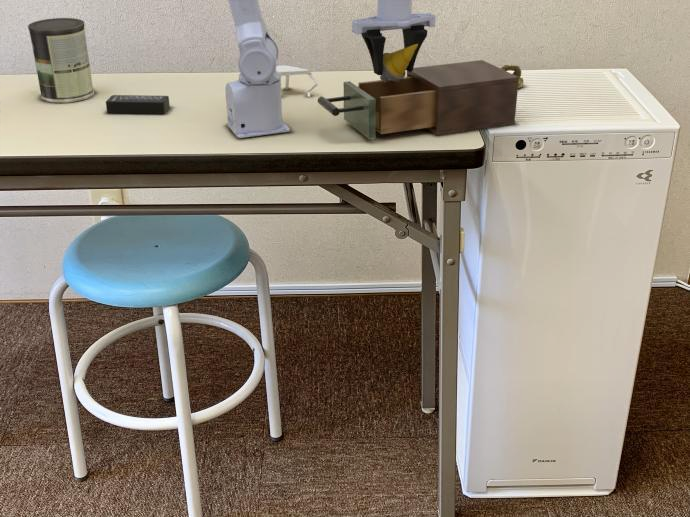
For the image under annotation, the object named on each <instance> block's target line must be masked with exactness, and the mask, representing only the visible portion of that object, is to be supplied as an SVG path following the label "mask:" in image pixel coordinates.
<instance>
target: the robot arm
mask: <svg viewBox="0 0 690 517" xmlns="http://www.w3.org/2000/svg"><path fill="white" fill-rule="evenodd" d="M227 1H228V4H229V8H230V13H231V15H232V19H233V22H234V26H235V31H236V32H235V33H236V41H237V42H236V43H237V46H238V50H239V56H238V61H237V65H238V70H239V74H238V79H236V80H234V81H229V82H227V83H226V84H225V103H226V104H225V105H226V118H227V122H226V125H227V127H228V128H229V129H230V130H231V132H232V133H233V134H234V135H235V137H237V139H244V138H251V137H259V136H265V135H266V136H268V135H274V134H281V133H289V132H291V128H290V127H289V126H288V125H287V124H286V123H285V122H284V121H283V101H282V98H283V97H282V94H281V91H282V76H281V75H280V74H279V73H278V72H277V71H276V66H277V60H278V58H279V47H278V44H277V43H276V41H275V40H274V39H273V38H272V37H271V35H270V33H269V30H268V27H267V24H266V22H265V20H264V17H263V14H262V11H261V10H262V9H261V6H260V2H259V0H227ZM376 8H377V12H376V13H377V14H376V15H375V16H369V17H365V18H360V19H352V20H351V32H352V33H353V34H355V35H361V37H362V39H363V41H364V43H365V46H366V48H367V49H368V53H369V56H370V59H371V63H372V69H373V73H374V74H376V75H377V76H381V75H382V73H383V54H384V53H385V52H384V51H385V45H386V40H387V37H386V36H384V35H383V32H384V31H395V30H401V31H402V37H403V49H404V48H406V47H409V46H412V45H415V44H418V46H417V48H416V50H414V54H413V56H412V58H411V60H410V62H409V64H408V67H407V69H406V72H407V71H409V72H412V71H413V68H415V63H416V60H417V58H418V54H419V52H420V49H421V47H422V46H423V43H424V41H425V40H426V38H428V30H427V29H425V27H428V28H434V27H436V14H434V13H432V12H431V13H430V12H428V13H427V12H425V13H412V12H413V11H412V8H413V0H377V6H376Z"/></svg>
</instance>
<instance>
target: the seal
mask: <svg viewBox="0 0 690 517" xmlns="http://www.w3.org/2000/svg"><path fill="white" fill-rule="evenodd" d="M500 69H502V70H505V71H507V72H508V71H513V72H512V74H513V75H515V76H517V77H519V81H518V89H520V88H523V87H524V78H523V77H522V69H521V66H519V65H510V64H504V65H503V66H501V68H500Z"/></svg>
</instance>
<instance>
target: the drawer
mask: <svg viewBox="0 0 690 517" xmlns="http://www.w3.org/2000/svg"><path fill="white" fill-rule="evenodd" d="M357 84H358V85H356V84H355V83H353V82H352V81H350V80H348V81H343V96H337V97H336V96H335V97H327V98H326V97H325V96H319V97H318V98H317V103H318V104H319V105H320V106H321V107H322V108H323V109H324V110H326V111H327V112H328V113H330V115H332V116H333V117H337V116H339V115H340V114H342V113H343V120H344V121H345V122H347V123H348V124H349V125H350V126H352V127H353V128H354V129H355V130H356V131H358V132H359V133H360V134H362V135H363V136H364V137H365V138H367V140H372V139H376V132H377V133H379V134H380V135H385V134H392V133H399V132H407V131H414V130H421V129H426V128H429V127H435V121H436V100H437V90H436V89H434V88H432V87H430V86H429V85H427V84H425V83H423V82H422V81H420V80H418V79H416V78H415V77H413V76H410V77H407V76H405V77H404V78H403V79H402V80H401V81H399V82H394V81H392V80H390V79H389V80H388V81H386V82H385V83H384V82H383V81H382V80H381V79H377V80H370V81H369V80H368V81H360V82H358V83H357ZM337 102H343V107H340V108H339V107H338V106H336V105H335V104H333V103H337Z"/></svg>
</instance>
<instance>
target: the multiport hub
mask: <svg viewBox="0 0 690 517" xmlns="http://www.w3.org/2000/svg"><path fill="white" fill-rule="evenodd" d="M105 107H106V114H108V115H161V116H162V115H166V114H167V112H168V111H169V110H170V109H171V105H170V97H169V95H137V94H135V95H134V94H113V95H111V96H110V97H109V98H108V99H106V101H105Z"/></svg>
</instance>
